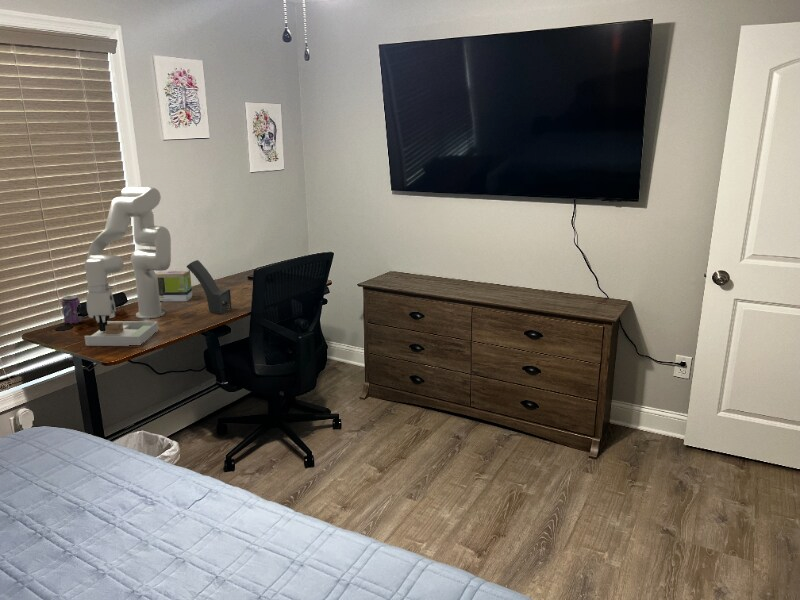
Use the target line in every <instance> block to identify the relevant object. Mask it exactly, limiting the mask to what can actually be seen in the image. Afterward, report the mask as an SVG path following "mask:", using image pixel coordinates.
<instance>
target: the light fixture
mask: <svg viewBox="0 0 800 600" xmlns="http://www.w3.org/2000/svg"><path fill="white" fill-rule="evenodd" d="M186 268H187V270H190V273H192V274H193V276H195V278H196V280H197V281H198V283H199V284H200V287H202V290H203V291H204V294H205V297H206V300H207V307H208V311H209V312H208V313H209V314H213V313H215V314H216V313H217V314H218V313H219V315H224V314H225V313H227V312H229V310H228V309H230V310H231V309H232V298H231V289H230V288H229V289H228V288H227V289H225V290H222V289H220V288H219V287H218V285H217V283H216V282H215V279H214V278H213V277H212V275H211V274H210V273H209V271H208V269H207V268H206V266H204V265H203V264H202V262H200V260H198V259H196V260H194V261H191V262H190V263H188V264H187V266H186Z"/></svg>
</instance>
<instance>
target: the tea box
mask: <svg viewBox="0 0 800 600" xmlns="http://www.w3.org/2000/svg"><path fill="white" fill-rule="evenodd" d="M155 273H156V275H157V278H158V287H159V297H160V301H163V302H188V301H190V299H191V298H192V297H193V287H192V278H191V271H190V270H189V269H167V270H164V271H158V272H155Z"/></svg>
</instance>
